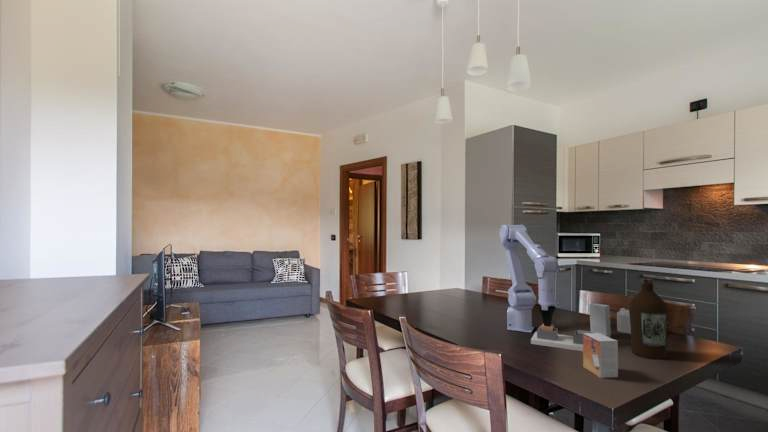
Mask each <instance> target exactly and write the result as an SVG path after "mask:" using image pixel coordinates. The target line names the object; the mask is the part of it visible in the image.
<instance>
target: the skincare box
mask: <svg viewBox="0 0 768 432" xmlns="http://www.w3.org/2000/svg"><path fill="white" fill-rule="evenodd" d="M588 307H589V308H588V309H589V323H590V332H593V333H601V334H603V335H605V336H607V337H609V338H611V335H612V329H611V328H612V327H611V312H610V305H608V304H602V303H594V302H593V303H590V304H589V305H588Z"/></svg>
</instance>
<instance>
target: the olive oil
mask: <svg viewBox="0 0 768 432" xmlns="http://www.w3.org/2000/svg"><path fill="white" fill-rule="evenodd" d="M653 282H654V280H653V279H651V278H641V283H640V291H639V292H637V293H636V294H635V295H634V296H633V297H632V298H631V299H630V301H629V304H628V310H629V316H630V328H631V334H630V341H631V342H630V343H631V352H632V353H633V354H634V355H636V356H639V357H642V358H647V359H653V360H662V359H666V358H667V347H668V345H667V339H668V338H667V337H668V307H667V304H666V302H665V301H664V300H663V298H661V297H660V296H659V294H657V293H656V292H655V290H654V283H653Z"/></svg>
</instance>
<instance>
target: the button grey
mask: <svg viewBox="0 0 768 432" xmlns="http://www.w3.org/2000/svg"><path fill="white" fill-rule="evenodd" d="M590 332H591V330H590V331H589V330H583V329H577V335H583V333H590Z"/></svg>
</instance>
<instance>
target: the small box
mask: <svg viewBox="0 0 768 432" xmlns="http://www.w3.org/2000/svg"><path fill="white" fill-rule="evenodd" d="M618 344H619V342H618V340H617V339H613V338H611V337H607V336H605V335H603V334H601V333H583V351H582V360H583V361H582V365H583V367H582V368H584V369H586V370H587V371H589V372H590V373H592V374H594V375H595V376H597V377H598V378H599V379H602V378H603V379H605V378H618V377H619V352H618V351H619V350H618V347H619V346H618Z"/></svg>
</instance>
